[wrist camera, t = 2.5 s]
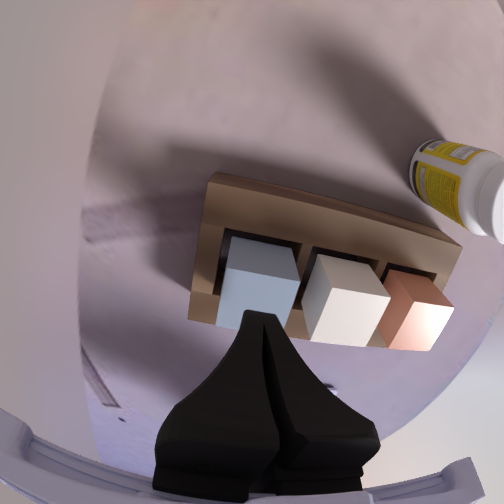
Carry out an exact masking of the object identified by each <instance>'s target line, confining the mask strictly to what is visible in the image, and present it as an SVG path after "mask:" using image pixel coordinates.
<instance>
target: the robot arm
mask: <svg viewBox="0 0 504 504" xmlns="http://www.w3.org/2000/svg"><path fill="white" fill-rule="evenodd" d="M336 394H337V389H336V388H328V387H326V386H325V385H324V384H323V383H322V382H321V381H320V380H319V379H318V378H317V377H316V376H315V374H314V373H313V372H312V371H311V370H310V369H309V367H308V366H307V365H306V364H305V362H304V361H303V359H302V358H301V357H300V355H299V354H298V352H297V351H296V349H295V347H294V346H293V344H292V342H291V341H290V339H289V337H288V336H287V334H286V332H285V330H284V328H283V327H282V325H281V323H280V321H279V319H278V317H277V315H276V314H272V313H266V312H260V311H254V310H249V309H247V310H245V311H244V312H243V316H242V320H241V324H240V328H239V331H238V333H237V336H236V338H235V340H234V341H233V343H232V345H231V347H230V348H229V350H228V352H227V353H226V355H225V356H224V357H223V359H222V360H221V362H220V363H219V364H218V366H217V367H216V368H215V369H214V370H213V372H212V373H211V374H210V375H209V376H208V377H207V378H206V379H205V380H204V381H203V382H202V383H201V384H200V385H199V386H198V387H197V388H196V389H195V390H194V391H193V392H192V393H190V394H189V395H188V396H187V397H185V398H184V399H183V400H182V401H180V402H179V403H178V404H176V405H175V406H174V408H173V409H172V410H171V412H170V413H169V415H168V416H167V418H166V419H165V421H164V422H163V424H162V426H161V428H160V430H159V432H158V435H157V439H156V444H155V449H154V450H155V459H156V467H155V472H154V476H153V478H150V477H146V476H142V475H138V474H135V473H131V472H128V471H124V470H121V469H118V468H114V467H111V466H108V465H105V464H102V463H99V462H97V461H93V460H91V459H88V458H86V457H83V456H81V455H78V454H76V453H73V452H71V451H68V450H66V449H64V448H61V447H59V446H57V445H55V444H53V443H50V442H48V441H46V440H44V439H42V438H40V437H38V436H36V435H34V434H33V432H32V430H31V429H30V427H29V426H28V425H27V424H26V423H25V422H23V421H22V420H20V419H19V418H17V417H15V416H13V415H12V414H10V413H8V412H6V411H5V410H3V409H1V408H0V481H1V482H3V483H4V484H5V485H7V486H8V487H10V488H12V489H13V490H15V491H17V492H18V493H20V494H21V495H23V496H25V497H27V498H28V499H30V500H32V501H34V502H36V503H37V504H474V503H476V502H478V501H479V500H481V499H483V498H484V497H485V493H484V490H483V488H482V485H481V482H480V480H479V477H478V475H477V472H476V469H475V467H474V465H473V462H472V460H471V457H467V458H464V459H461V460H458V461H455V462H453V463H451V464H450V465H448V466H446V467H445V468H444V469H443V470H442V471H441V472H438V473H434V474H431V475H427V476H423V477H419V478H416V479H411V480H407V481H403V482H398V483H393V484H388V485H382V486H377V487H371V488H364V489H362V484H361V479H360V477H362V476H363V474H364V473H363V469H362V466H363V465H364V464H365V463H367V462H368V461H369V460H370V459H371V458H372V457H374V455H375V454H376V453H377V452H378V451H379V449H380V446H381V445H380V441H379V437H378V433H377V430H376V428H375V425H374V422H372V421H370V420H369V419H367V418H366V417H364V416H362V415H361V414H359V413H358V412H356V411H355V410H353V409H352V408H351V407H349V406H348V405H347V404H345V403H344V402H343V401H341V400H340V399H339V398H338V397H337V396H336Z"/></svg>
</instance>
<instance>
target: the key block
mask: <svg viewBox="0 0 504 504" xmlns="http://www.w3.org/2000/svg"><path fill="white" fill-rule="evenodd" d="M225 228H230V229H235V230H240V231H245V232H249V233H254V234H259V235H264V236H269V237H274V238H279V239H283V240H288V241H291V244H290V247H289V248H291V249H292V252H293V256H294V260H295V263H296V267H297V271H298V275H299V278H300V283H301V280H302V277H303V274H304V271H305V268H306V265H307V262H308V259H309V256H310V253H311V250H312V247H313V246H316V247H321V248H326V249H330V250H335V251H340V252H344V253H349V254H353V255H358V258H357V261H356V262H359V263H364V264H368V265H369V266H370V267H371V269H372V270H373V272H374V273H375V274H376V276H377V277H378V279H379V280H380V278H381V276H382V274H383V271H384V269H385V267H386V264H387V262H389V263H393V264H398V265H402V266H406V267H411V268H413V269H412V271H411V274H414V275H419V276H424V277H428V278H429V279H430V280H431V281H432V282H433V283H434V284H435V286H436V287H437V288H438V289H439V290H440V291H441V292H443V290H444V288H445V286H446V284H447V282H448V279H449V277H450V275H451V273H452V271H453V269H454V267H455V264H456V262H457V260H458V258H459V255H460V253H461V251H462V248H463V247H462V246H460V245H459V244H458V243H457V242H455V241H454V240H453V239H451V238H450V237H449V236H447V235H446V234H445V233H443V232H442V231H440V230H437V229H434V228H431V227H428V226H425V225H421V224H418V223H415V222H412V221H409V220H406V219H403V218H399V217H396V216H393V215H389V214H386V213H383V212H379V211H376V210H372V209H369V208H365V207H362V206H358V205H355V204H351V203H347V202H344V201H340V200H336V199H332V198H329V197H325V196H321V195H317V194H313V193H309V192H305V191H301V190H296V189H292V188H288V187H284V186H279V185H275V184H270V183H266V182H261V181H257V180H252V179H247V178H242V177H237V176H232V175H227V174H222V173H217V172H215V173H214V174H213V176H212V177H211V179H210V180H209V181H208V185H207V191H206V197H205V202H204V208H203V214H202V220H201V226H200V233H199V239H198V246H197V252H196V259H195V266H194V273H193V280H192V288H191V295H190V303H189V311H188V319H189V320H194V321H198V322H203V323H208V324H214V325H216V319H217V313H218V307H219V301H220V295H221V289H222V284H223V279H224V274H225V272H220V271H217V269H218V264H219V259H220V253H221V248H222V243H223V238H224V233H225ZM305 290H306V288H305V287H300V284H299V287H298V290H297V293H296V296H295V299H294V302H293V305H292V308H291V310H290V313H289V316H288V319H287V322H286V324H285V327H284V330H285V332H286V334H287V336H288V337H292V338H299V339H307V340H310V339H309V334H308V330H307V325H306V321H305V317H304V312H303V308H302V304H301V301H302V298H303V295H304V292H305ZM366 346H371V347H384V348H387V346H386V344H385V342H384V340H383V338H382V336H381V334H380V332H379V330H378V328H377V327H376V328H375V330H374V332H373V334H372V336H371V338H370V340H369V341H368V343H367V345H366Z"/></svg>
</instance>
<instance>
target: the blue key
mask: <svg viewBox="0 0 504 504" xmlns="http://www.w3.org/2000/svg"><path fill="white" fill-rule="evenodd" d="M299 284H300V278H299V275H298V271H297V267H296V263H295V260H294V256H293V252H292V249H291V248H287V247H282V246H278V245H273V244H268V243H263V242H258V241H253V240H248V239H243V238H238V237H233V236H232V239H231V244H230V249H229V254H228V259H227V264H226V269H225V274H224V279H223V284H222V289H221V295H220V301H219V307H218V313H217V319H216V325H215V326H218V327H223V328H229V329H234V330H239V328H240V324H241V320H242V316H243V312H244V311H245V310H247V309H249V310H254V311H260V312H266V313H272V314H276V315H277V317H278V319H279V321H280V323H281V325H282V327H283V328H284V327H285V324H286V322H287V319H288V316H289V313H290V310H291V308H292V305H293V302H294V299H295V296H296V293H297V290H298V287H299Z"/></svg>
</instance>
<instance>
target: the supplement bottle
mask: <svg viewBox="0 0 504 504" xmlns="http://www.w3.org/2000/svg"><path fill="white" fill-rule="evenodd" d="M409 178H410V183H411V186H412V189H413V191H414V193H415V194H416V196H417V197H418V198H419V199H420V200H421V201H423V202H424V203H425V204H427V205H429V206H431V207H432V208H434V209H436V210H437V211H439V212H441V213H442V214H444V215H445V216H447V217H449V218H450V219H452V220H453V221H455V222H457V223H458V224H460V225H461V226H463V227H464V228H466V229H467V230H469V231H470V232H472V233H474V234H477V235H488V236H490V237H491V238H493V239H495V240H496V241H498V242H499V243H501V244H504V158H503V157H501V156H500V155H498V154H496V153H494V152H491V151H488V150H484V149H480V148H476V147H472V146H468V145H463V144H459V143H454V142H449V141H444V140H438V139H435V140H429V141H427V142H425V143H423V144H422V145H421V146H420V147H419V148H418V149H417V150H416V152H415V153H414V155H413V158H412V161H411V164H410V170H409Z"/></svg>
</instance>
